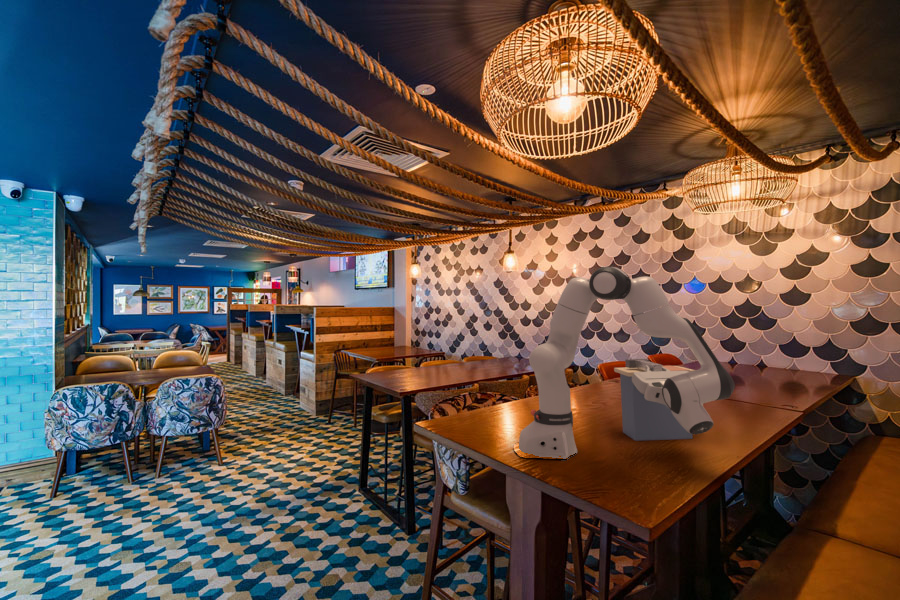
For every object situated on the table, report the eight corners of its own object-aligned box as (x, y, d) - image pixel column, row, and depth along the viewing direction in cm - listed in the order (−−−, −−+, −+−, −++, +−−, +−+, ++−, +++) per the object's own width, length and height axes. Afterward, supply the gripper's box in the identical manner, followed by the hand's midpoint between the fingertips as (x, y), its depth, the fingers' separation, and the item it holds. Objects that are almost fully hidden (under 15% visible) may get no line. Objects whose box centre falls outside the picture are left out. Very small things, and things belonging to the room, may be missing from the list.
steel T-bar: (646, 373, 134) (646, 365, 134) (625, 366, 150) (625, 359, 150) (669, 372, 134) (668, 364, 134) (645, 366, 150) (645, 358, 150)
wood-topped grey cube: (631, 441, 141) (628, 372, 142) (616, 431, 153) (614, 367, 154) (699, 439, 141) (696, 369, 142) (680, 429, 153) (676, 365, 154)
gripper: (706, 384, 124) (683, 358, 136) (645, 385, 124) (627, 360, 136) (701, 398, 127) (678, 372, 139) (641, 400, 127) (623, 373, 139)
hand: (652, 366), depth 138 cm, fingers closed on steel T-bar, 3 cm apart
